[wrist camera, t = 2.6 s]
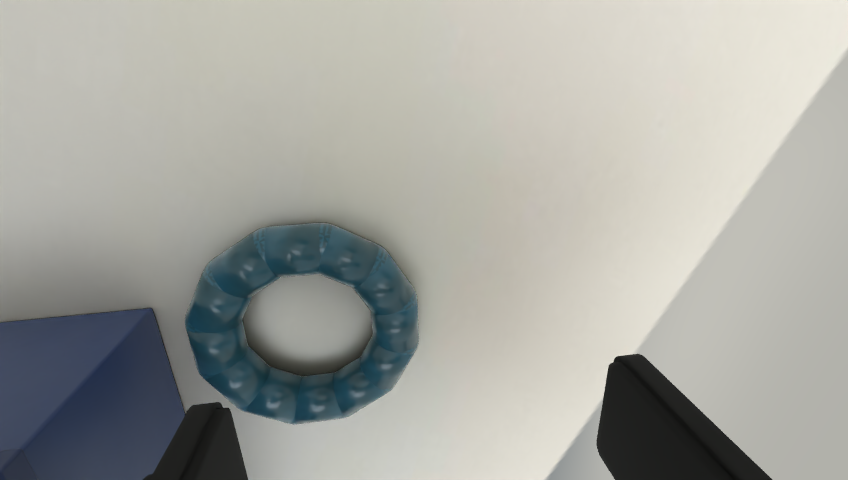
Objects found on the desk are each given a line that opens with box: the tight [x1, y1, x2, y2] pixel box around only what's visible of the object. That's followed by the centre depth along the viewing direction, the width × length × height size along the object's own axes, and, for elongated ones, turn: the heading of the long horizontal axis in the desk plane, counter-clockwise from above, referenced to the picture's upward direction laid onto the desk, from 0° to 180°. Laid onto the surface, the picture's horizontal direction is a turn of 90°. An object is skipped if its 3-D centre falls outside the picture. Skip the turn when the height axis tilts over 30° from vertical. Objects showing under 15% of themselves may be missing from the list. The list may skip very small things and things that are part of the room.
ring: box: [185, 223, 419, 425], centre depth 14 cm, size 7×7×2 cm
